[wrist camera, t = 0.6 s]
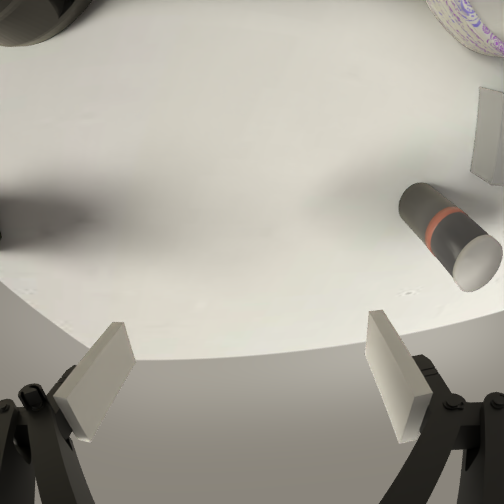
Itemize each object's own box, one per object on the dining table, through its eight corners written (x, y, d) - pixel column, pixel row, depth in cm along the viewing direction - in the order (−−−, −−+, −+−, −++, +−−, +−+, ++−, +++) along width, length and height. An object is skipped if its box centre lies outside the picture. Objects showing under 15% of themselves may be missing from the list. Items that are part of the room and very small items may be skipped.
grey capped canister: (401, 181, 30) (468, 242, 20) (440, 181, 30) (509, 237, 20) (394, 226, 33) (450, 296, 23) (432, 223, 33) (491, 287, 23)
